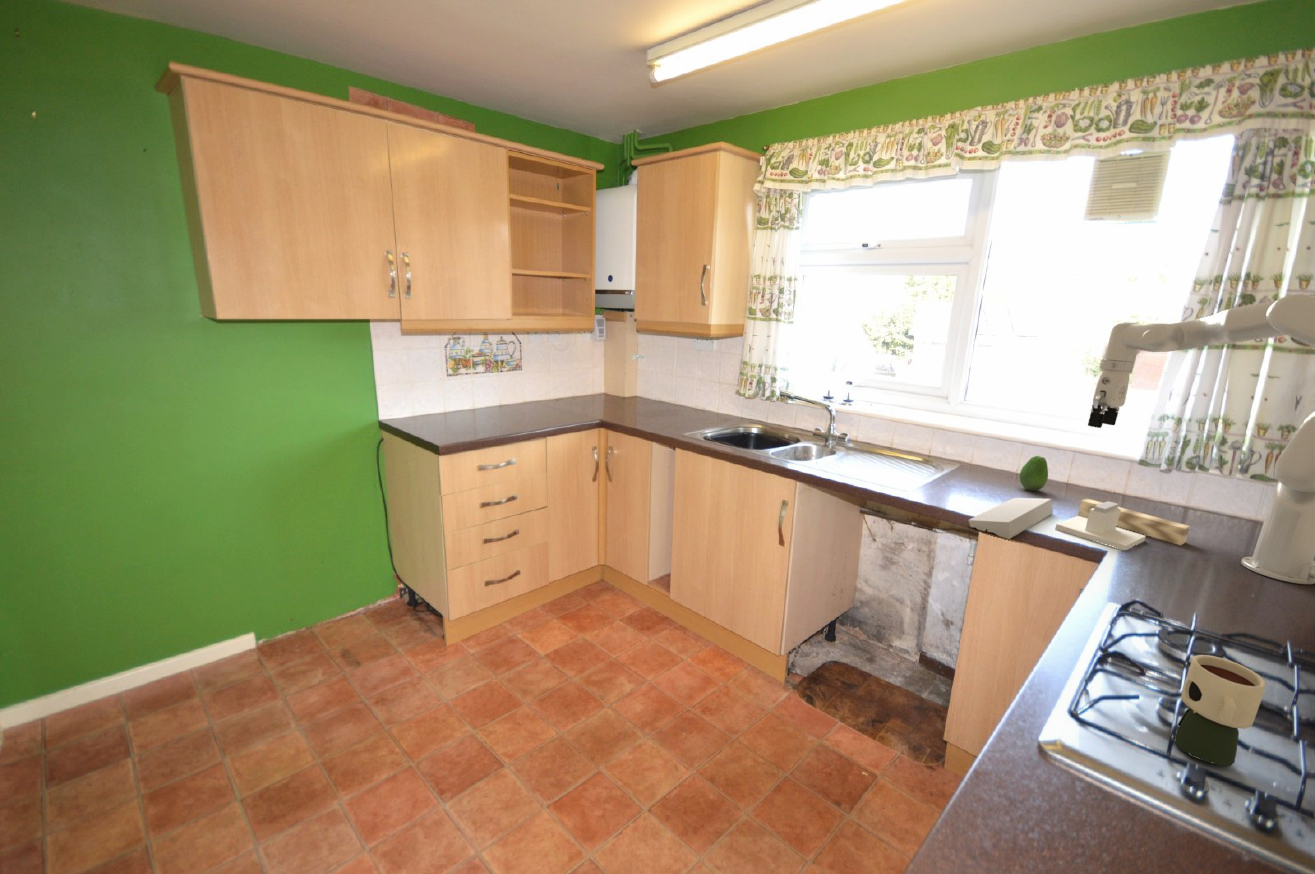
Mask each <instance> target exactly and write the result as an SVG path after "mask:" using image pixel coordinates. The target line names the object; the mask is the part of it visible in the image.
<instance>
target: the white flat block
mask: <svg viewBox="0 0 1315 874" xmlns="http://www.w3.org/2000/svg"><path fill="white" fill-rule="evenodd" d="M1052 502H1053V501H1052V498H1037V497H1036V498H1035V497H1034V498H1033V497H1013V498H1011V499H1009V500H1007V501H1004V502H1002V503H1001V504H999V505H996V506H995V507H993V508H990V509H988V510H986V511H984V512H982V513H980V514H978V515H976V516H974V517H971V518H970V519H968V523H969V526H970V528H976V530H979V531H983V532H987V533H993V534H995V535H996V536H997V537H1001V538H1004V539H1007V540H1010V539H1012V538H1014V537H1016V536H1017V535H1019V534H1020V533H1022V532H1024V531H1026V530H1027V529H1029V528H1030V527H1032V526H1034V525H1035V524H1037V523H1039V522H1041V521H1043V520H1045V518H1047V517H1049V516H1051V515H1052V514H1053V513H1054V512H1053V503H1052Z"/></svg>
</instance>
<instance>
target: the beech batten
mask: <svg viewBox="0 0 1315 874" xmlns="http://www.w3.org/2000/svg"><path fill="white" fill-rule="evenodd" d="M1102 503H1103V502H1102V501H1098V500H1093V499H1091V498H1084V499H1081V500H1080V505H1079V508H1078V509H1079V510H1078V513H1077V516H1080V517H1084V518H1087V519H1088V516H1089V512H1090V509H1092V508H1094V507H1095V506H1096V505H1099V504H1102ZM1118 508H1119V509H1121V511H1120V515H1119V519H1118V522H1117V526H1118V528H1120V527H1121V529H1123V528H1124V530H1126V529H1127V530H1128V531H1130V530H1131V532H1133V531H1135V532H1134V533H1137V532H1138V534H1141V535H1143V534H1144V535H1145V536H1148V537H1150V536H1151V537H1150V538H1154V539H1157V540H1161V541H1164V542H1167V543H1171V544H1174V545H1177V546H1182V545H1184V544H1185V543H1186V542H1187V539H1188V535H1189V531H1190V528H1191V526H1190V525H1187V524H1183V523H1179V522H1176V521H1172V520H1168V519H1165V518H1162V517H1157V516H1154V515H1149V514H1146V513H1142V512H1139V511H1136V510H1132V509H1126V508H1124V507H1121V506H1118Z"/></svg>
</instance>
